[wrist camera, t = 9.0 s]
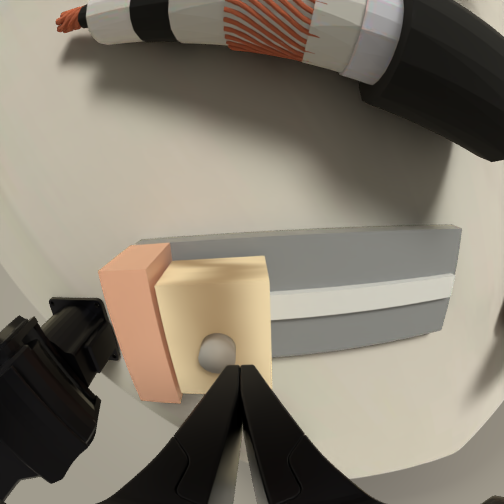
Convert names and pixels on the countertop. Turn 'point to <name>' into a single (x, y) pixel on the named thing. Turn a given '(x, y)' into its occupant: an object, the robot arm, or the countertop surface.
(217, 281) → the block
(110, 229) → the countertop surface
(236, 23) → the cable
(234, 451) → the robot arm
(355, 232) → the track
